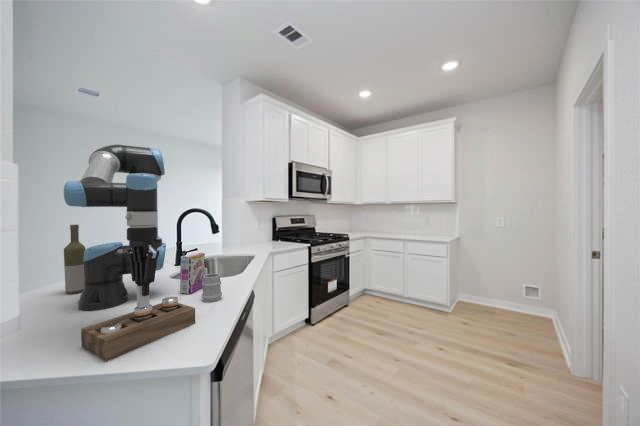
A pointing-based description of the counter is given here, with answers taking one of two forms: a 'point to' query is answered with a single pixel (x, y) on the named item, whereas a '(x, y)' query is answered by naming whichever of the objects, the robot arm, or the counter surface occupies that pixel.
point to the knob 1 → (111, 328)
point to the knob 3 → (169, 304)
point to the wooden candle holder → (135, 331)
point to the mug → (211, 287)
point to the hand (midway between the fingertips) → (143, 305)
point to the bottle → (74, 263)
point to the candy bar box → (191, 272)
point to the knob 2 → (142, 313)
